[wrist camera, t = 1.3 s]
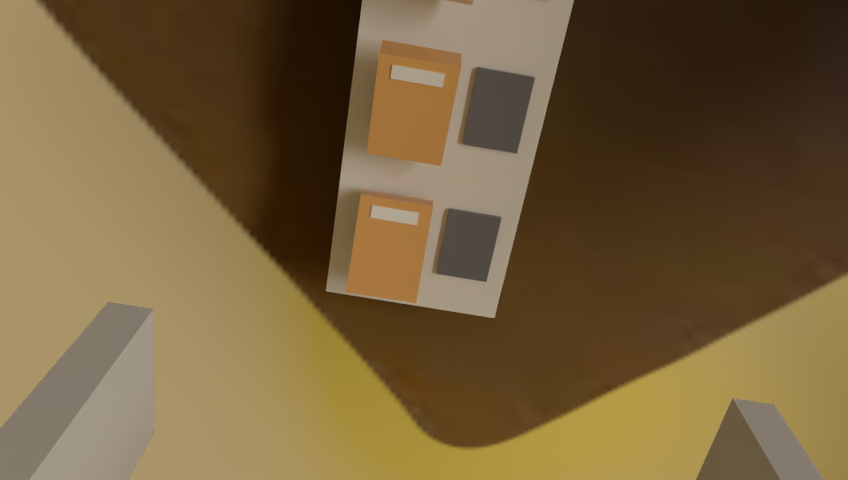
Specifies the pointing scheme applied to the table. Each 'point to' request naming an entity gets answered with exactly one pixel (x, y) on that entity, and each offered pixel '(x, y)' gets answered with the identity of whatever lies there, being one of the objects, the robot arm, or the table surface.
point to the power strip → (457, 139)
